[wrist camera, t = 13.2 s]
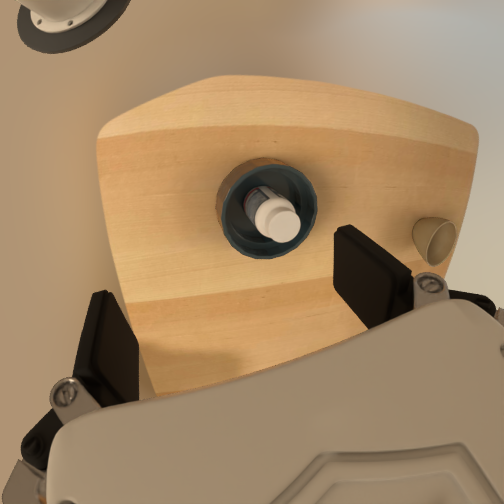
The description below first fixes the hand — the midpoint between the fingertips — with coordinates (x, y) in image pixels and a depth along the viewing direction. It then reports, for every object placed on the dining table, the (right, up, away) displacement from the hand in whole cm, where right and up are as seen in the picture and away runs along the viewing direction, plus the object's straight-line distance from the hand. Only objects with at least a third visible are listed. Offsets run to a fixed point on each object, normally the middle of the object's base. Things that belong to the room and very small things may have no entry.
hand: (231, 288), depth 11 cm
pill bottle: (+2, +8, +29) cm, 30 cm away
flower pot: (+36, +6, +42) cm, 56 cm away
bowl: (+2, +9, +29) cm, 31 cm away
